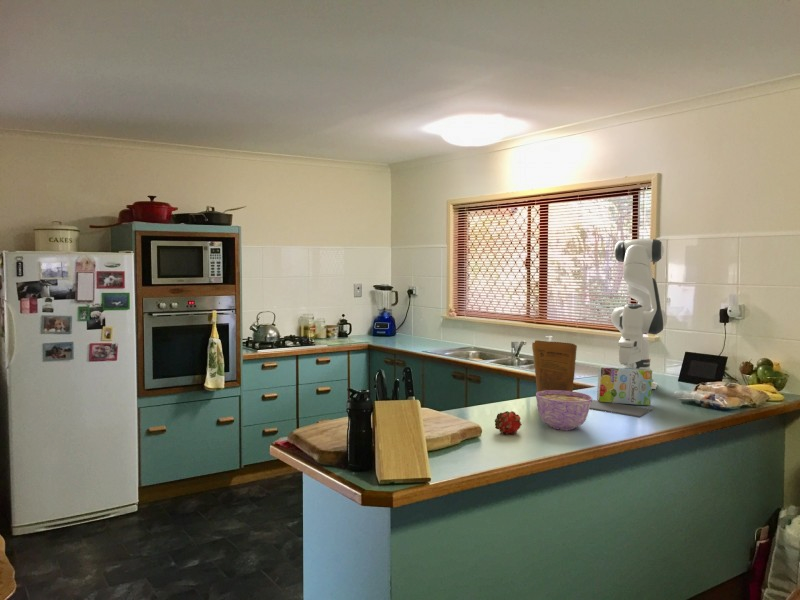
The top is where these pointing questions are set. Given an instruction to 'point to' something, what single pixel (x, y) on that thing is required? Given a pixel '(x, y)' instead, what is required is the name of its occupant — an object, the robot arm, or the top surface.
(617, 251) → the robot arm
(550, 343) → the pancake mix bag
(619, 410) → the charcoal rubber mat
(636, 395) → the snack box
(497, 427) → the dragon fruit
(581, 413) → the bowl of food
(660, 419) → the top surface
